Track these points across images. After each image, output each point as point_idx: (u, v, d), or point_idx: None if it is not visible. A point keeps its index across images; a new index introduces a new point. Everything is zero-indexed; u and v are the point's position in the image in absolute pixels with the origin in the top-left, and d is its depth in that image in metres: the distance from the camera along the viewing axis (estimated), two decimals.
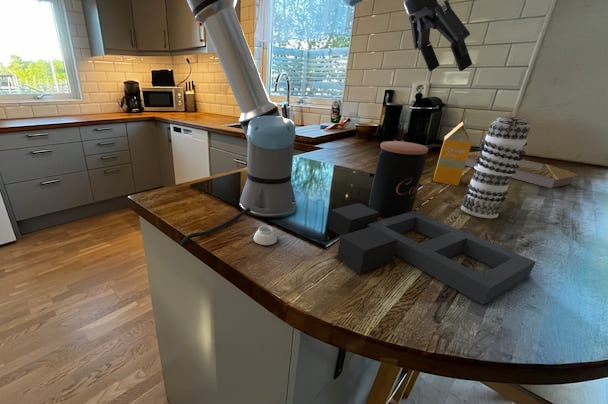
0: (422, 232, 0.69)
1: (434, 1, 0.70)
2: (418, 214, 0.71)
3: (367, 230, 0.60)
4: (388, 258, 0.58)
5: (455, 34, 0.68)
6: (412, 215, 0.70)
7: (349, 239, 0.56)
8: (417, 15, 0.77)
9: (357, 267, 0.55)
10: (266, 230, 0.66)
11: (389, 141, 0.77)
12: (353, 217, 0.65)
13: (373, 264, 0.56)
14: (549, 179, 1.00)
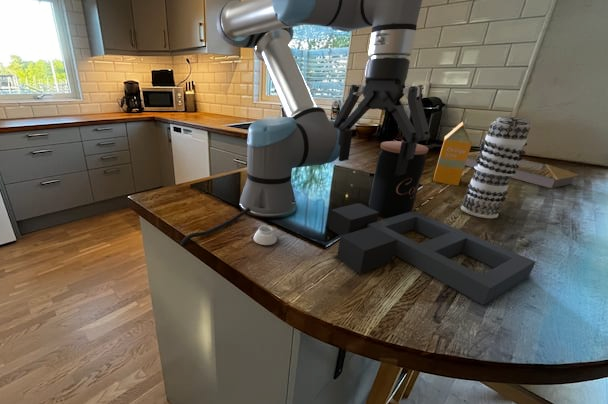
0: (422, 232, 0.69)
1: None
2: (418, 214, 0.71)
3: (367, 230, 0.60)
4: (388, 258, 0.58)
5: None
6: (412, 215, 0.70)
7: (349, 239, 0.56)
8: None
9: (357, 267, 0.55)
10: (266, 230, 0.66)
11: (389, 141, 0.77)
12: (353, 217, 0.65)
13: (373, 264, 0.56)
14: (549, 179, 1.00)
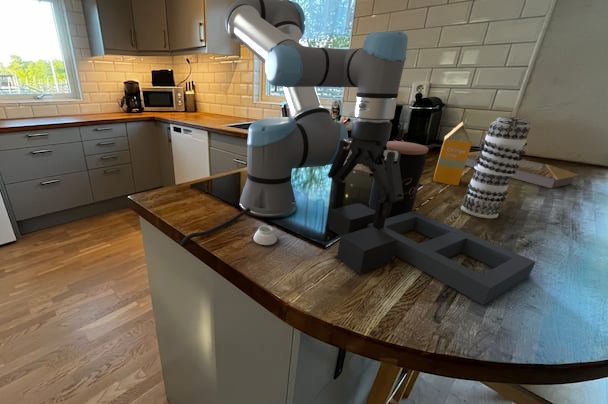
0: (422, 232, 0.69)
1: None
2: (418, 214, 0.71)
3: (367, 230, 0.60)
4: (388, 258, 0.58)
5: None
6: (412, 215, 0.70)
7: (349, 239, 0.56)
8: None
9: (357, 267, 0.55)
10: (266, 230, 0.66)
11: (389, 141, 0.77)
12: (353, 217, 0.65)
13: (373, 264, 0.56)
14: (549, 179, 1.00)
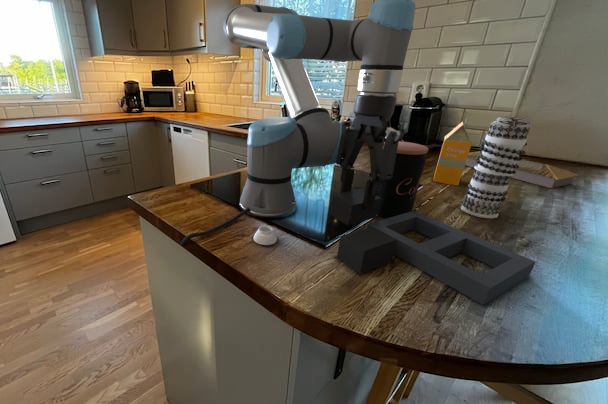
0: (422, 232, 0.69)
1: None
2: (418, 214, 0.71)
3: (367, 230, 0.60)
4: (388, 258, 0.58)
5: None
6: (412, 215, 0.70)
7: (349, 239, 0.56)
8: None
9: (357, 267, 0.55)
10: (266, 230, 0.66)
11: None
12: (355, 203, 0.64)
13: (373, 264, 0.56)
14: (549, 179, 1.00)
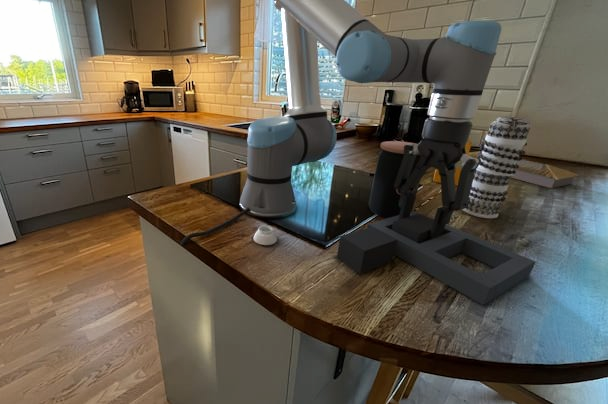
0: None
1: None
2: None
3: (367, 230, 0.60)
4: (388, 258, 0.58)
5: None
6: None
7: (349, 239, 0.56)
8: None
9: (357, 267, 0.55)
10: (266, 230, 0.66)
11: (389, 141, 0.77)
12: (421, 230, 0.60)
13: (373, 264, 0.56)
14: (549, 179, 1.00)
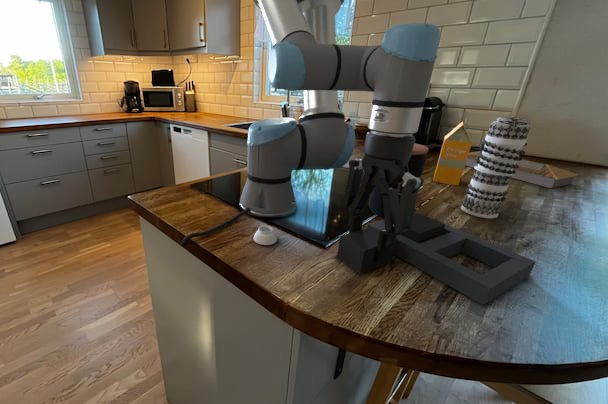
0: None
1: None
2: None
3: (367, 230, 0.60)
4: (388, 258, 0.58)
5: None
6: None
7: (349, 239, 0.56)
8: None
9: (357, 267, 0.55)
10: (266, 230, 0.66)
11: None
12: (421, 230, 0.60)
13: (373, 264, 0.56)
14: (549, 179, 1.00)
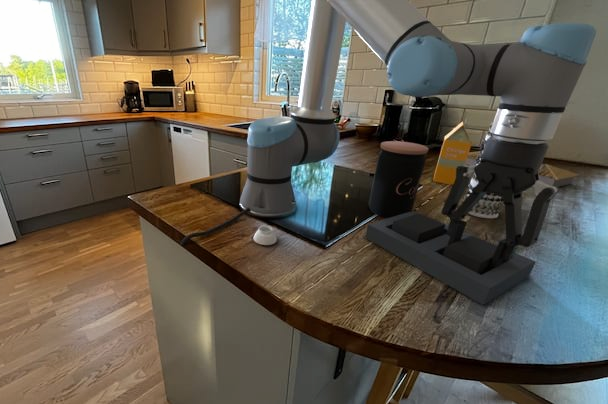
0: None
1: None
2: None
3: (469, 240, 0.57)
4: None
5: None
6: None
7: (457, 249, 0.54)
8: None
9: None
10: (266, 230, 0.66)
11: (389, 141, 0.77)
12: (421, 230, 0.60)
13: None
14: (549, 179, 1.00)
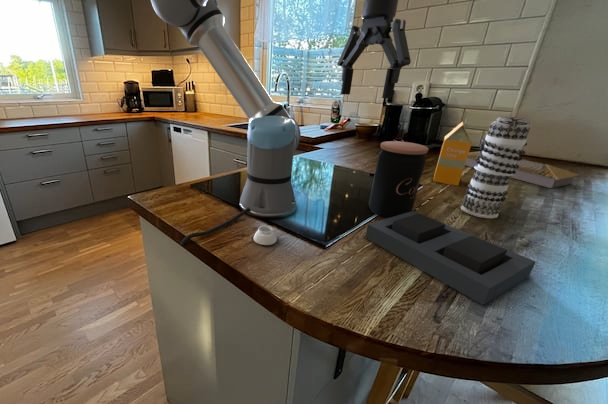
0: None
1: None
2: None
3: (470, 240, 0.57)
4: None
5: None
6: None
7: (457, 249, 0.54)
8: None
9: None
10: (266, 230, 0.66)
11: (389, 141, 0.77)
12: (421, 230, 0.60)
13: None
14: (549, 179, 1.00)
